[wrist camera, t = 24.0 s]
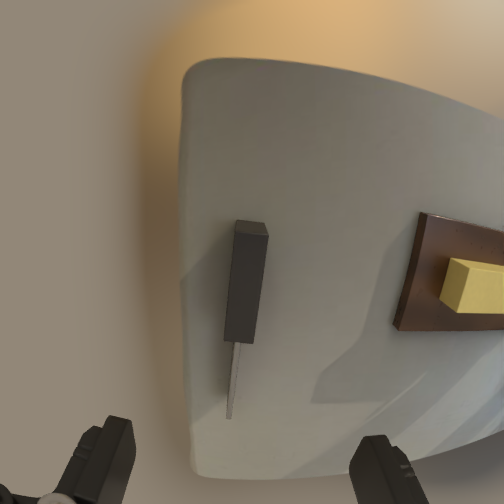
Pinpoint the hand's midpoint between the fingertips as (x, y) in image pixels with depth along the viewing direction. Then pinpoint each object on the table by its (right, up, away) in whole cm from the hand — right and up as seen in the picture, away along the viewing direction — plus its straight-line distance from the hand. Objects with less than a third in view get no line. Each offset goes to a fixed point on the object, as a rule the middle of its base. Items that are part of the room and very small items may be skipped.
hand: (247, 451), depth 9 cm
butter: (+25, +3, +19) cm, 31 cm away
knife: (-1, +1, +21) cm, 21 cm away
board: (+27, +4, +20) cm, 34 cm away
